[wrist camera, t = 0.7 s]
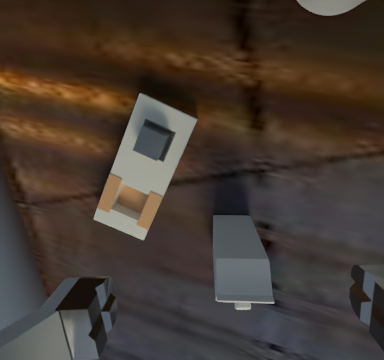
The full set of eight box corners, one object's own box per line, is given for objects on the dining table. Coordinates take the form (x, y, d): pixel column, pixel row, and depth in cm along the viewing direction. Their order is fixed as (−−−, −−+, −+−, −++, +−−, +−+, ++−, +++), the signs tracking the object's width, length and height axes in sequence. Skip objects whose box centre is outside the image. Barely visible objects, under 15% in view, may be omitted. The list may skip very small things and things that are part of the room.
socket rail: (145, 94, 43) (139, 92, 39) (197, 118, 44) (197, 119, 40) (101, 210, 50) (92, 219, 46) (148, 230, 50) (143, 240, 46)
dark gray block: (151, 123, 44) (141, 125, 37) (172, 133, 44) (166, 137, 37) (143, 144, 45) (132, 150, 38) (164, 153, 45) (156, 161, 38)
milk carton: (213, 214, 49) (217, 276, 30) (249, 215, 48) (276, 278, 30) (212, 247, 51) (216, 324, 32) (248, 247, 50) (272, 326, 32)
